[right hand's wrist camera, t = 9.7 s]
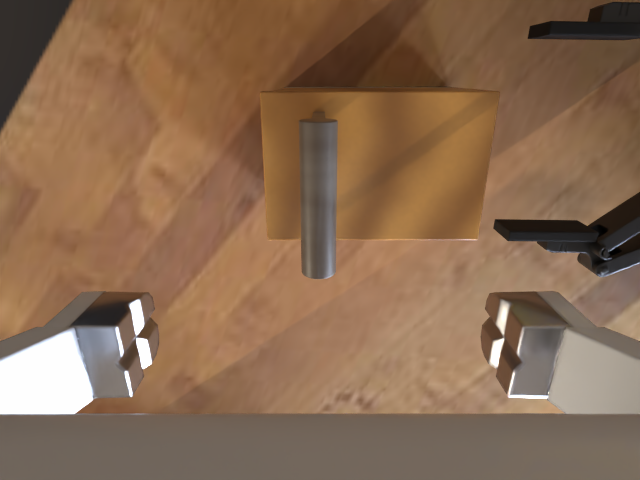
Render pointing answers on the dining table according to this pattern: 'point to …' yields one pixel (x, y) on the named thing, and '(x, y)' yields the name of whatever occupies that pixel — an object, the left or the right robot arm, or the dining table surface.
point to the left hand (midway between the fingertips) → (517, 138)
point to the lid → (374, 167)
